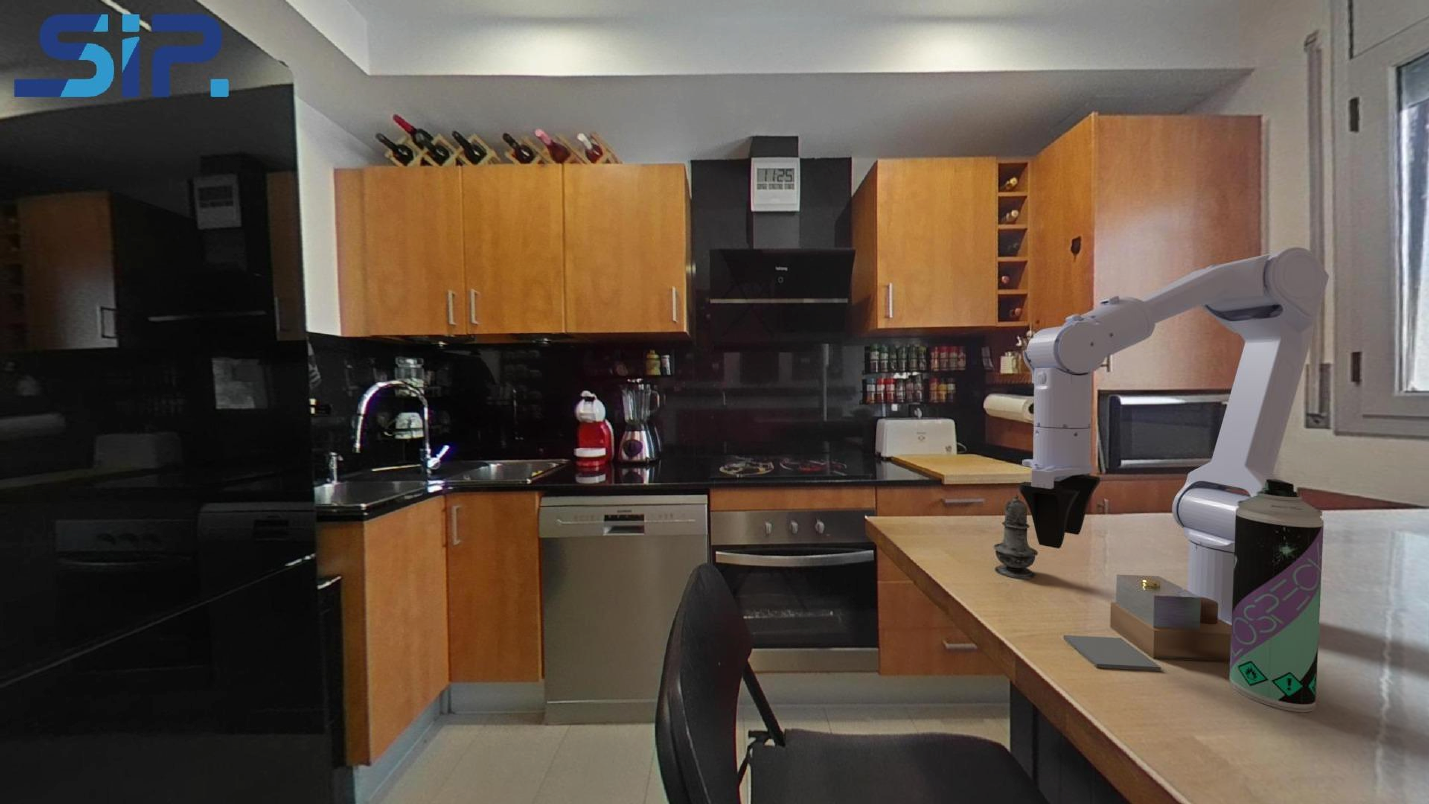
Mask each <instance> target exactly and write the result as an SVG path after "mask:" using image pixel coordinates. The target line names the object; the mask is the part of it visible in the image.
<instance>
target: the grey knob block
mask: <svg viewBox="0 0 1429 804" xmlns="http://www.w3.org/2000/svg"><path fill="white" fill-rule="evenodd" d="M1115 583H1116V585H1115V587H1116V588H1115V590H1116V591H1115V602H1116V604H1117V605H1118V606H1120V607H1121V608H1123V609H1124V610H1126V611H1127V612H1129V613H1131V614H1132V615H1134V616H1135V617H1137V618H1138V619H1140V620H1141V621H1143V622H1144V623H1146V624H1148V625H1149V626H1151V627H1152V628H1161V629H1183V630H1200V612H1201V597H1199V596H1197V595H1195V594H1193V593H1191V592H1189V591H1187V589H1185V588H1183V587H1182V586H1180V585H1177V584H1175V583H1173V582H1171V581H1169V580H1167V579H1165V578H1163V577H1161V576H1159V575H1143V574H1142V575H1139V574H1138V575H1137V574H1136V575H1135V574H1116V582H1115Z"/></svg>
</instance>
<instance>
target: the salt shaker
mask: <svg viewBox="0 0 1429 804" xmlns="http://www.w3.org/2000/svg"><path fill="white" fill-rule="evenodd" d="M1019 498H1020V496H1019V495H1018V494H1014V496H1013V499H1012V500H1009V501H1007V502H1006V503H1005V507H1004V511H1005V513H1004V514H1005V515H1004V521H1002V522H1001V524H1002V525H1003V526H1004V528H1003V529H1004V530H1003V531H1004V532H1003V533H1004V534H1003V539H1002V542H1000V543H995V544H994V545H993V547H992V548H993V549H994V550H995V555H996V558H997V560H998V561H999V562H1000V563H1001V564H1000V565H997V566H996V567H995V568H994V571H995V572H996V573H998V574H999V575H1002V576H1004V577H1007V578H1012V579H1018V580H1029V579H1034V578H1035V577H1036V574H1035V572H1033V571H1032V570H1031V569H1029V567H1031V566H1032V565H1033V564H1034V562H1035V561H1036V557H1037V555H1038V553H1039V552H1038V550H1037V549H1036V548H1033V547H1031V546H1029V542H1028V529H1030V524H1028V517H1027V516H1028V505H1027V503H1025V502H1024V501H1021V499H1019Z"/></svg>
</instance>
